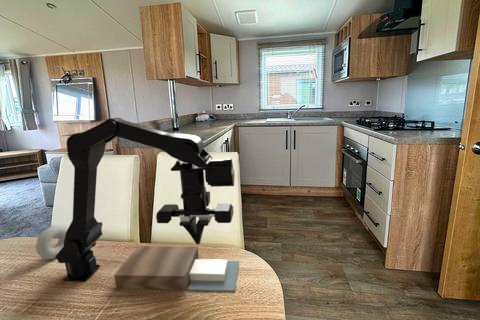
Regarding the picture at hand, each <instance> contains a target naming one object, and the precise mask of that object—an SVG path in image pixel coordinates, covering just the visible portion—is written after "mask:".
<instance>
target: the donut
mask: <svg viewBox="0 0 480 320" xmlns="http://www.w3.org/2000/svg"><path fill="white" fill-rule="evenodd" d="M67 230H68V228H67V226H63V225H60V224H59V225H58V224H56V225H51V226H49V227H48V228H46V229H44V230H43V232H41V234H39V236H38V238H37V240H36V244H35V248H36V249H35V250H36V252H37V254H38V256H40V257H41V258H42V259H46V260H50V259H52V260H53V259H56V257H55V256H56V255H57V254H58V253H59V251H60V250H61V249H62V248H63V247H64V239H65V235H66V232H67ZM55 237H57V238H58V239H57V240H58V241H57V243H56V244H55V245H54V246H51V242H52V240H53V239H55Z"/></svg>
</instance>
